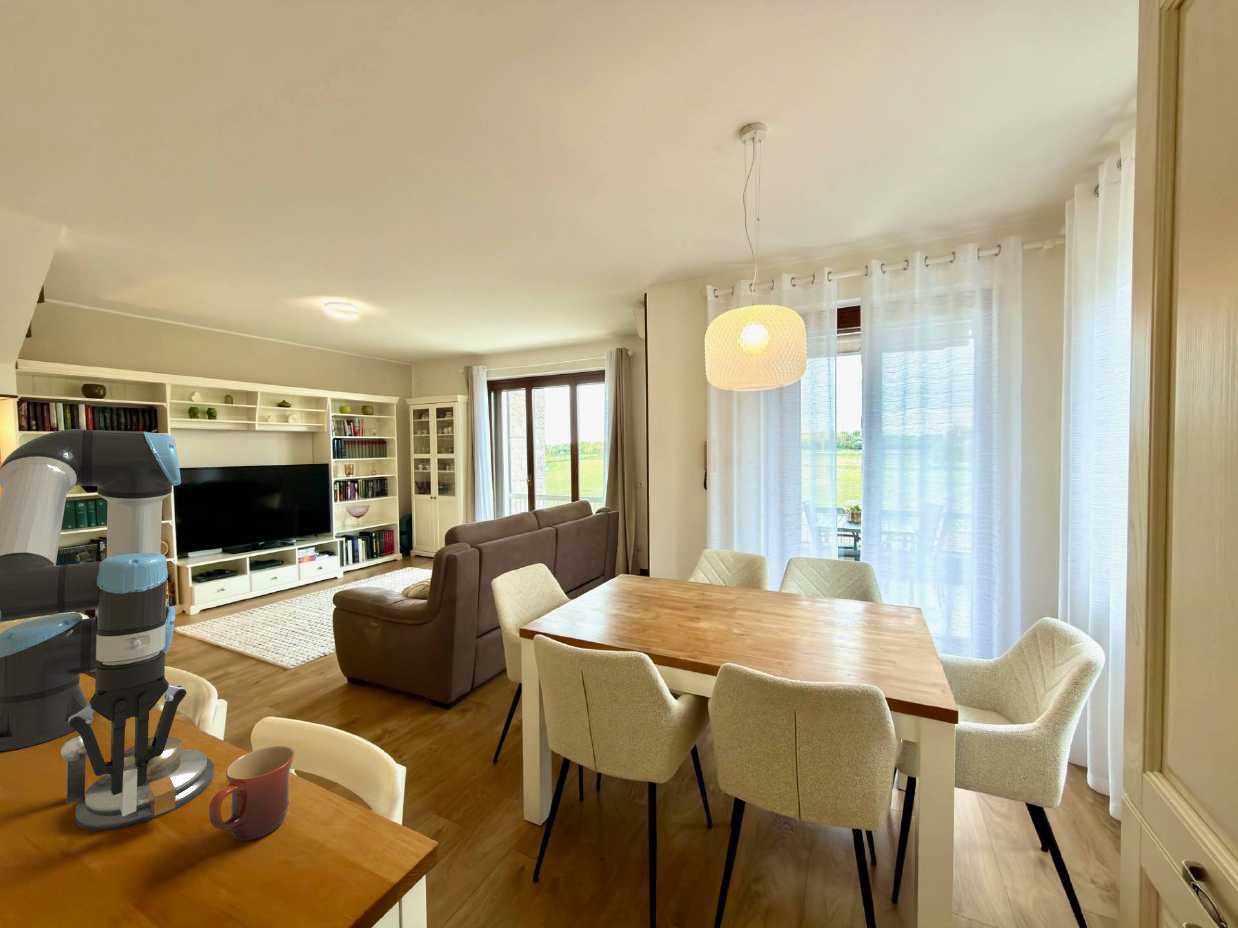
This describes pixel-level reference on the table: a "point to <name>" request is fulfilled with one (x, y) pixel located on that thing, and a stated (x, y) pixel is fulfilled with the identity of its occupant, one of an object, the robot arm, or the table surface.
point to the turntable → (149, 788)
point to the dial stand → (74, 768)
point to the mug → (255, 793)
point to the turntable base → (141, 815)
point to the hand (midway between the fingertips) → (128, 809)
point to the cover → (159, 760)
